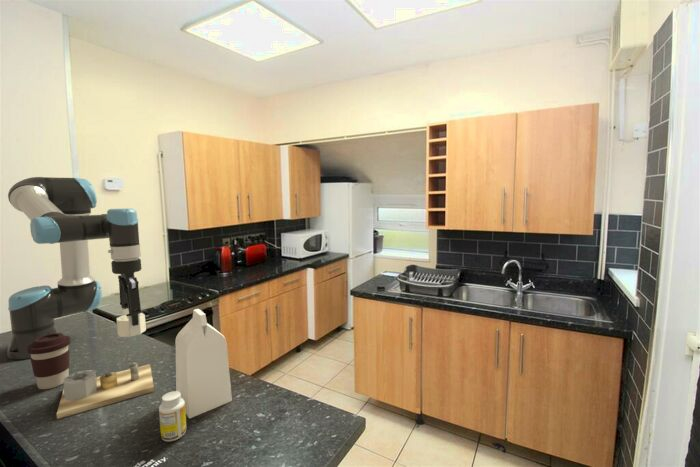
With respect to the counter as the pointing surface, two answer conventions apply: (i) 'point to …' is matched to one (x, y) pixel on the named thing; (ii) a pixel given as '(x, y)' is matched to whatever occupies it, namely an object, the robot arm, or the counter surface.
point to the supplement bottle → (172, 416)
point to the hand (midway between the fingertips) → (132, 331)
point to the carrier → (111, 390)
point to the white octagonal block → (124, 325)
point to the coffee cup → (50, 359)
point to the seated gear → (80, 385)
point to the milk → (202, 366)
